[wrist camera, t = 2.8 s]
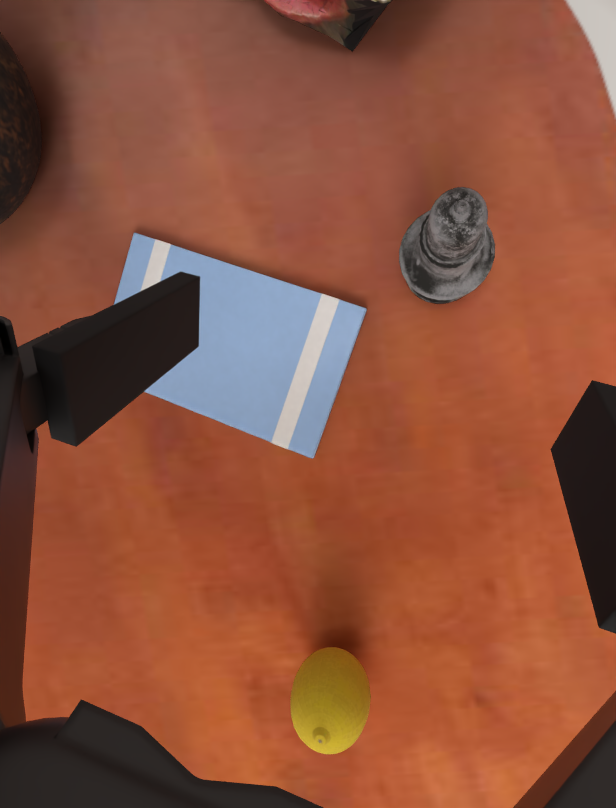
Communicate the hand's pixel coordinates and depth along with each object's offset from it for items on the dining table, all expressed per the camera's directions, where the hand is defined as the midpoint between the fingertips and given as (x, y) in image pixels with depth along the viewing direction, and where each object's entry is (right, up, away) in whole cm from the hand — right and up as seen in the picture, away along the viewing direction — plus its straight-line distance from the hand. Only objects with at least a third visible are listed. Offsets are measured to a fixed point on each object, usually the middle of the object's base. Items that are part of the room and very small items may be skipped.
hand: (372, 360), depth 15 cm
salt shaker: (+7, +8, +17) cm, 20 cm away
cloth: (-9, +3, +21) cm, 23 cm away
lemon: (0, -22, +21) cm, 30 cm away
